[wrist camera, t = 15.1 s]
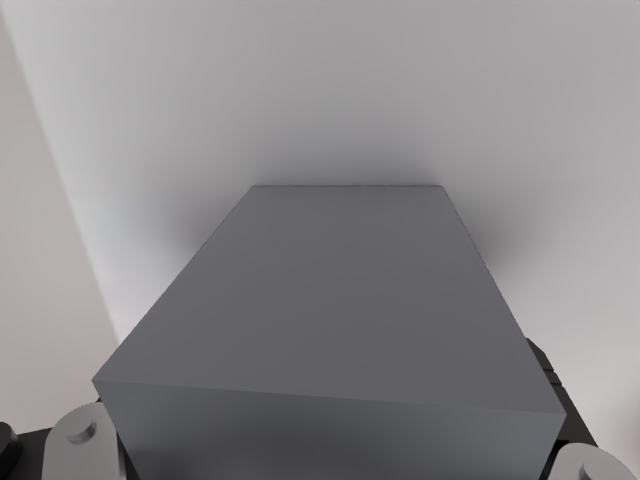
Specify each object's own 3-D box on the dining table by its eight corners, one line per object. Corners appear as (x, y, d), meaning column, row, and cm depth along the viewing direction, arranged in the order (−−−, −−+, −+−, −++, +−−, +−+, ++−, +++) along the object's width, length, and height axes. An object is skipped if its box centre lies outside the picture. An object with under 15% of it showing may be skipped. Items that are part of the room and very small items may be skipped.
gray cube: (252, 186, 13) (90, 380, 5) (442, 186, 12) (567, 414, 5) (271, 326, 16) (187, 573, 9) (423, 334, 16) (479, 614, 8)
